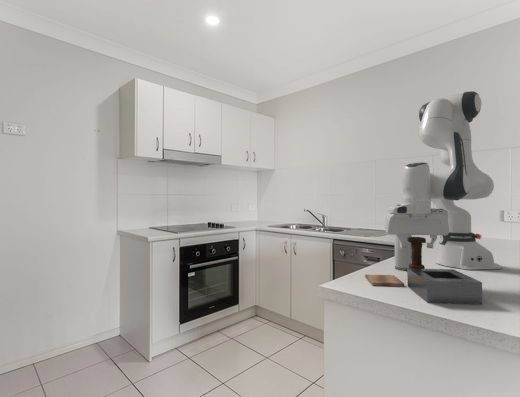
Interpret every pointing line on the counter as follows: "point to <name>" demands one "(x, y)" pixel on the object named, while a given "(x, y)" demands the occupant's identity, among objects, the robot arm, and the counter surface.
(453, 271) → the socket block
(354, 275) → the counter surface
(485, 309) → the counter surface
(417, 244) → the bolt
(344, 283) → the counter surface
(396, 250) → the travel mug
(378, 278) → the walnut pad
